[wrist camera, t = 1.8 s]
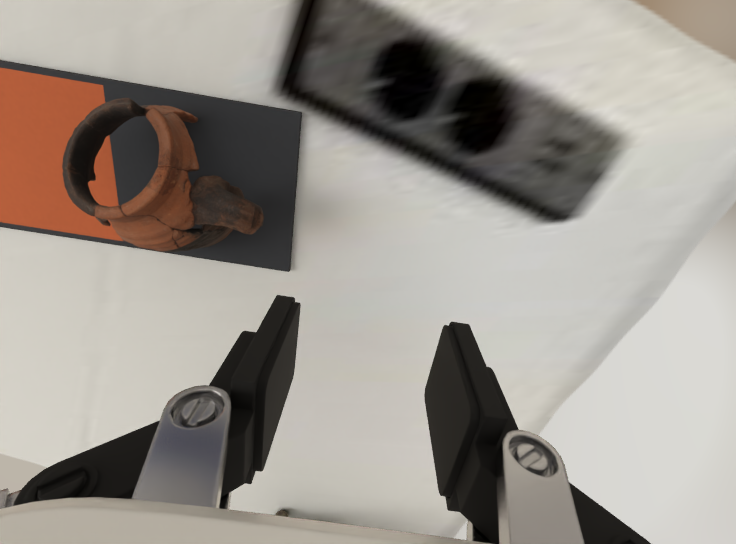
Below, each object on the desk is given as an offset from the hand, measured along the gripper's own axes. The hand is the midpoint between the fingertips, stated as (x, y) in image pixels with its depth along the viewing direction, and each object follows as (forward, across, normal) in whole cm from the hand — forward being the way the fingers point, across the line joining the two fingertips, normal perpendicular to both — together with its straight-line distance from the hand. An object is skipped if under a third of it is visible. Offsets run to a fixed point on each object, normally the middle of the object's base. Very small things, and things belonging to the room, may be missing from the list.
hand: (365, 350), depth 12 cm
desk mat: (+17, +19, 0) cm, 26 cm away
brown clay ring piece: (+17, +13, 0) cm, 22 cm away
